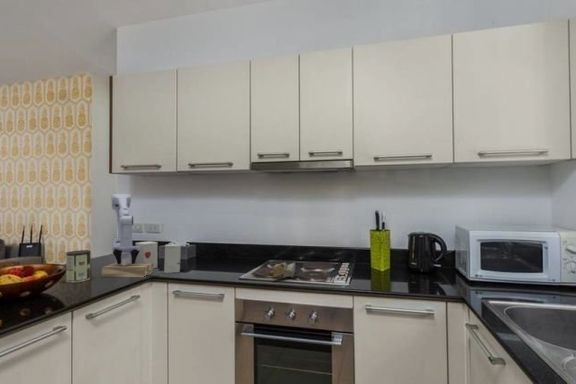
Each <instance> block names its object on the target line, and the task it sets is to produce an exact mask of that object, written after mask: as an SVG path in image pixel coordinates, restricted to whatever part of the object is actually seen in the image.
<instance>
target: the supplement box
mask: <svg viewBox="0 0 576 384" xmlns="http://www.w3.org/2000/svg"><path fill="white" fill-rule="evenodd" d="M135 246H141V250H140V251H139V253H138V255H137V257H136V261H135V263H153V269H157V268H158V251H159V250H158V241H140V242H135Z"/></svg>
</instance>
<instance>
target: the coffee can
mask: <svg viewBox="0 0 576 384" xmlns="http://www.w3.org/2000/svg"><path fill="white" fill-rule="evenodd" d="M91 252H92V251H91V250H88V249H87V250H86V249H85V250H84V249H83V250H82V249H81V250H73V251H67V252H66V253H65V254H66V257H65V259H66V261H65V262H66V264H65V265H66V267H65V268H66V269H65V270H66V271H65V272H66V281H65V282H66V283H71V284H72V283H81V282H87V281H89V280H91Z"/></svg>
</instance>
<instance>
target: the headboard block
mask: <svg viewBox="0 0 576 384" xmlns="http://www.w3.org/2000/svg"><path fill="white" fill-rule="evenodd" d="M153 273H154V268H153V263H135V264H132V263H130V265H129V266H126V267H122V263H121V264H117V263H110V264H108V265H105V266H101V278H145V277H147V276H149V275H151V274H153ZM146 275H147V276H146ZM144 276H145V277H144Z"/></svg>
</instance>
